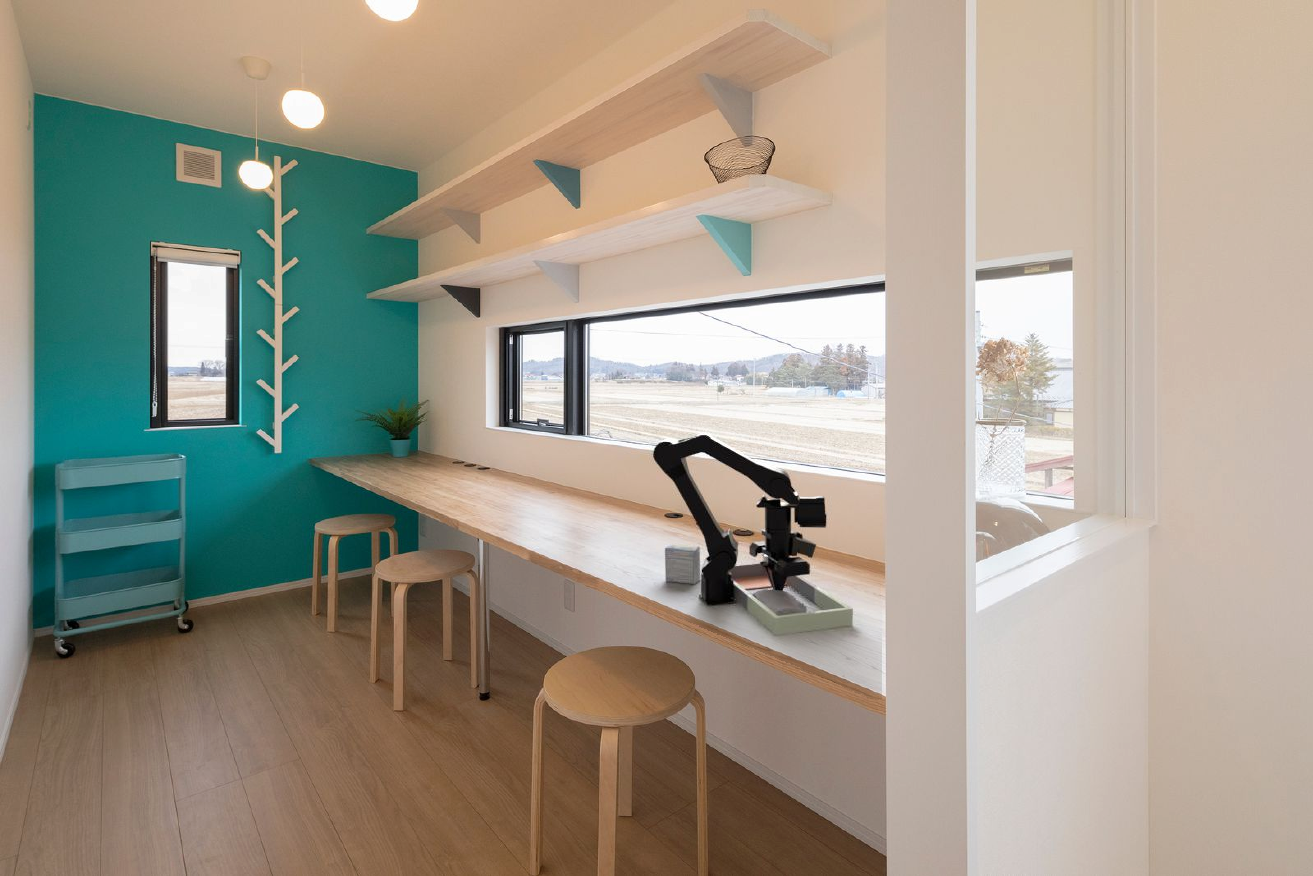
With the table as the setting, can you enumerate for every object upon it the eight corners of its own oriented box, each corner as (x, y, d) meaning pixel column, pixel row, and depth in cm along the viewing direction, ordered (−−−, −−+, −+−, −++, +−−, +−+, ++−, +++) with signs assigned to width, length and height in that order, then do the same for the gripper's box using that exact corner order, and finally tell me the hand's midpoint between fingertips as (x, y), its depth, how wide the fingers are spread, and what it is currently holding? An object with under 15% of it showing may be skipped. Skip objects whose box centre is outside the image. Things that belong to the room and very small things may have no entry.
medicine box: (700, 579, 165) (700, 545, 164) (695, 585, 161) (694, 550, 160) (671, 576, 168) (670, 543, 167) (665, 581, 163) (664, 547, 163)
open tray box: (775, 635, 129) (775, 618, 128) (712, 580, 163) (712, 567, 163) (852, 625, 133) (852, 608, 133) (775, 574, 168) (775, 560, 167)
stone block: (788, 611, 147) (746, 606, 145) (792, 590, 147) (751, 585, 145) (810, 633, 136) (765, 628, 134) (815, 610, 135) (770, 605, 133)
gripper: (832, 533, 139) (832, 605, 140) (791, 514, 157) (791, 578, 158) (784, 538, 136) (784, 611, 137) (748, 518, 154) (748, 583, 155)
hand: (778, 595), depth 147 cm, fingers closed
